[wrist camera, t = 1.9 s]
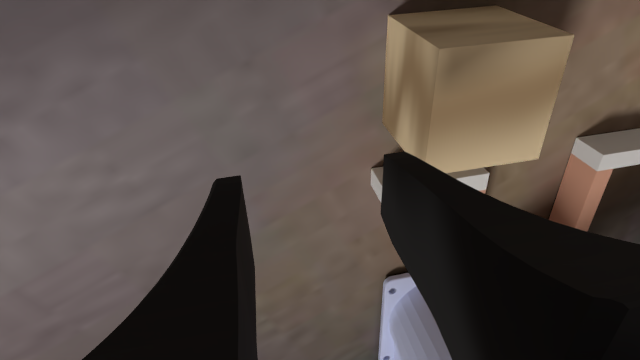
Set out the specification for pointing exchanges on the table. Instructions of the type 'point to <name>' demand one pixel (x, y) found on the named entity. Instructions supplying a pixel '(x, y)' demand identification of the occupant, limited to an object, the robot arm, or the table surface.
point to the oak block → (471, 85)
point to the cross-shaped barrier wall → (569, 175)
